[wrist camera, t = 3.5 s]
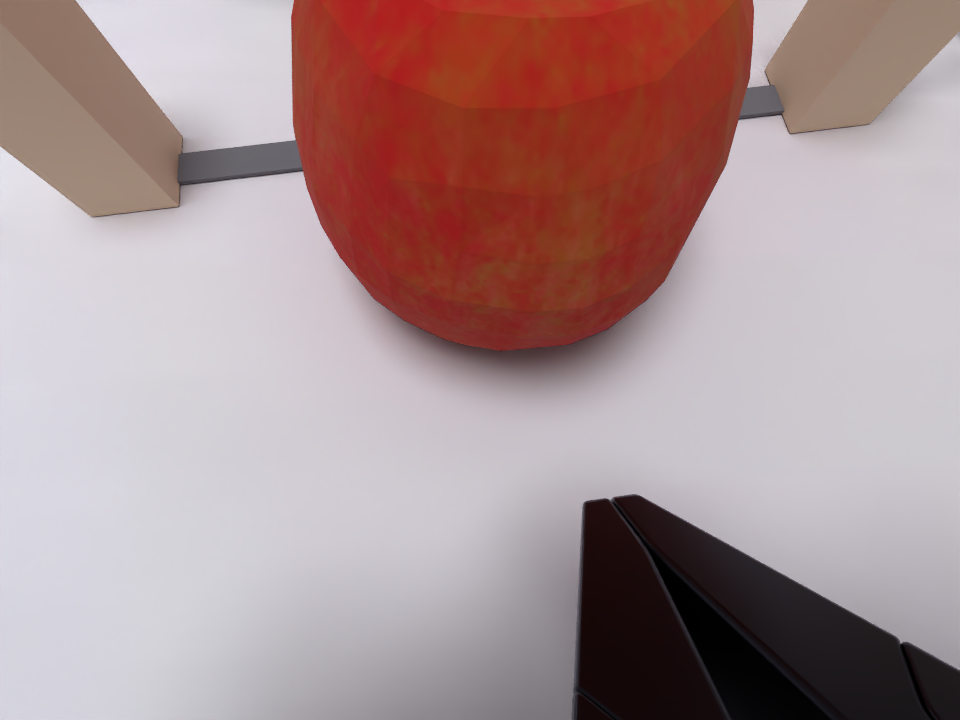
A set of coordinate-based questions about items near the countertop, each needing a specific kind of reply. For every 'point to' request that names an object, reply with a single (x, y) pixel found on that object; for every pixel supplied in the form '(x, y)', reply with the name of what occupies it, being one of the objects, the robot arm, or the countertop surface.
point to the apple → (515, 152)
